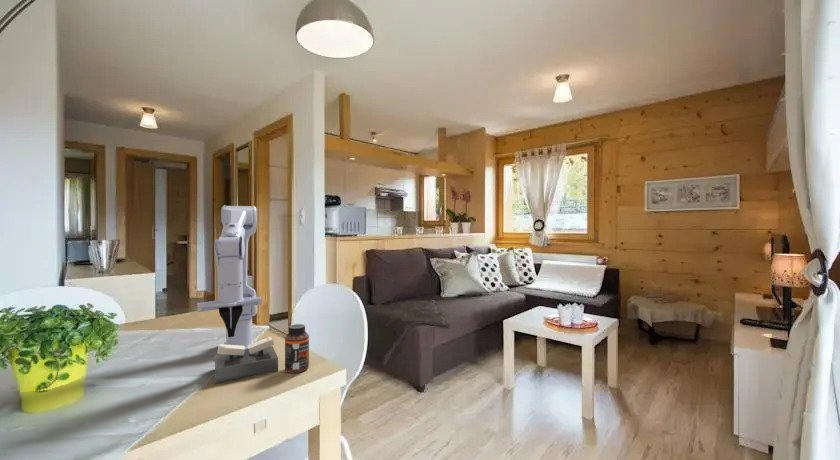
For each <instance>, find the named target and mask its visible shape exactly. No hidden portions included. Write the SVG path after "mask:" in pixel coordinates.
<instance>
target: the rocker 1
mask: <svg viewBox="0 0 840 460" xmlns="http://www.w3.org/2000/svg"><path fill="white" fill-rule="evenodd" d="M217 347H218V348H217V354H218V355H222V354H226V355H244V352H245V351H246V350H245V347H244V346H241V345H225V344H224V343H223V344H222V343H220V344H218V346H217Z"/></svg>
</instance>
